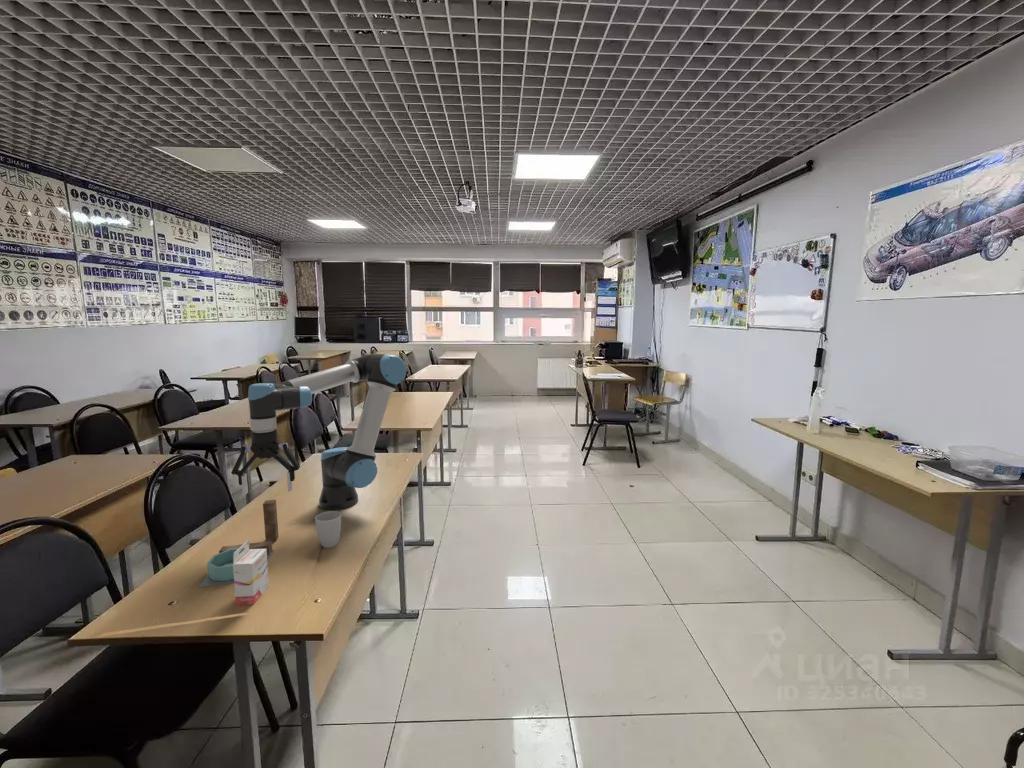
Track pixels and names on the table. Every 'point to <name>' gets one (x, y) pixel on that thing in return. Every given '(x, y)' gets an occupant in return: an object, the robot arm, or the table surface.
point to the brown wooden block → (270, 520)
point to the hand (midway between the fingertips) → (268, 492)
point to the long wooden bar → (251, 546)
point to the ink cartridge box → (249, 574)
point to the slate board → (210, 582)
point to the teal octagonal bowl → (222, 566)
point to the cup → (328, 528)
